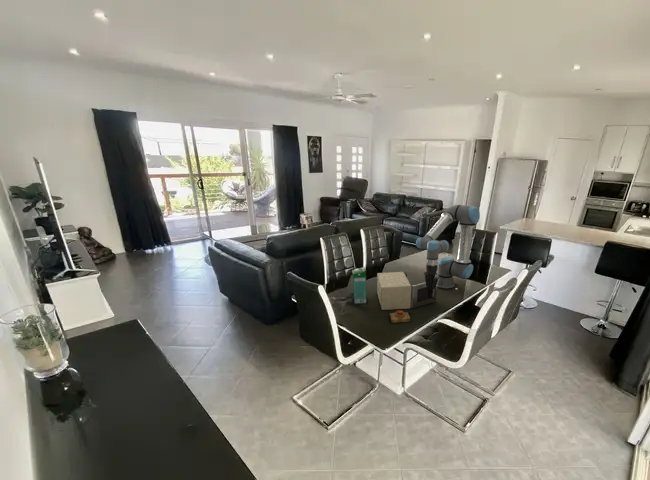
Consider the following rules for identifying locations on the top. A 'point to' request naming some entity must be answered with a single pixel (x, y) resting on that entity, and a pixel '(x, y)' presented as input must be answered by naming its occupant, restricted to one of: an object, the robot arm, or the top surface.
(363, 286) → the milk carton
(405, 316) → the tan button base
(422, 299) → the door
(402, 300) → the beige box
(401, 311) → the button
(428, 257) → the robot arm
